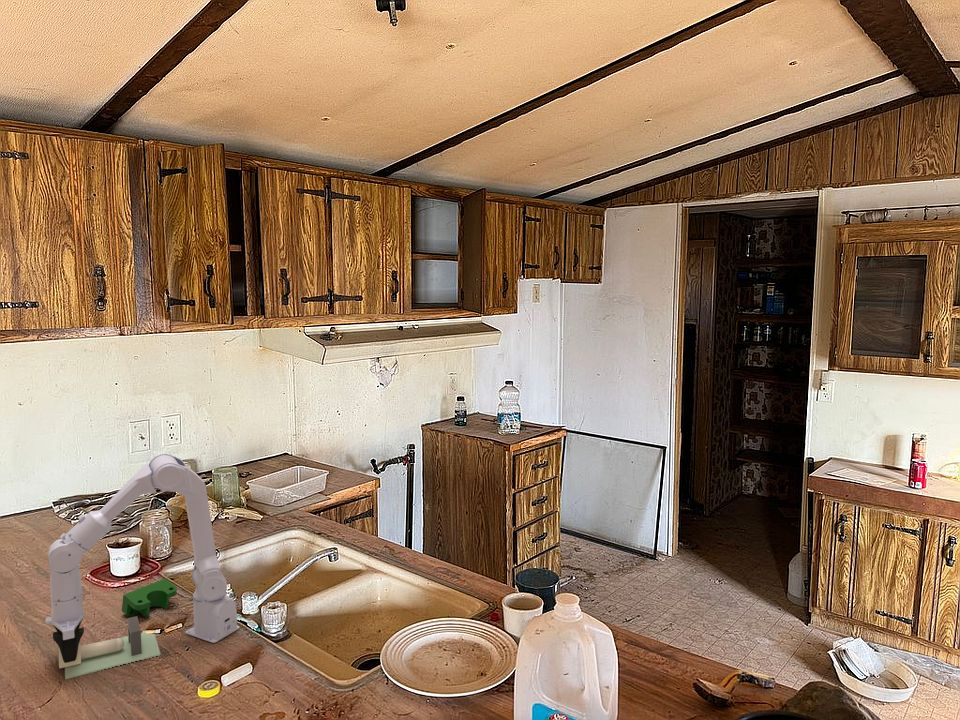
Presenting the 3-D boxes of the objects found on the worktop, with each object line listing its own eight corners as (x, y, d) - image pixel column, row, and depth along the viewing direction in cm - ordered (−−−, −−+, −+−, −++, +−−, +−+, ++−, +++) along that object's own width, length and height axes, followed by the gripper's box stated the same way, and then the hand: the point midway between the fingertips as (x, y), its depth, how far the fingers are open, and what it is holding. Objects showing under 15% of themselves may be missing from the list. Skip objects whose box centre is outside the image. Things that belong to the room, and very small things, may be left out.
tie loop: (138, 638, 157) (137, 616, 156) (141, 653, 151) (140, 630, 150) (128, 640, 156) (127, 618, 155) (131, 656, 150) (130, 632, 149)
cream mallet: (123, 645, 154) (123, 623, 153) (125, 653, 150) (124, 631, 150) (59, 659, 147) (58, 637, 147) (59, 668, 144) (58, 646, 143)
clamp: (141, 635, 167) (130, 611, 162) (127, 622, 170) (116, 599, 165) (183, 601, 176) (175, 578, 171) (169, 590, 179) (160, 566, 173)
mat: (153, 631, 161) (153, 630, 161) (160, 655, 151) (160, 654, 151) (64, 652, 151) (64, 650, 151) (65, 679, 141) (65, 677, 141)
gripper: (44, 586, 149) (47, 645, 150) (43, 614, 137) (47, 678, 138) (81, 579, 153) (84, 636, 154) (84, 606, 140) (87, 668, 142)
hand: (69, 655), depth 146 cm, fingers closed on cream mallet, 4 cm apart
